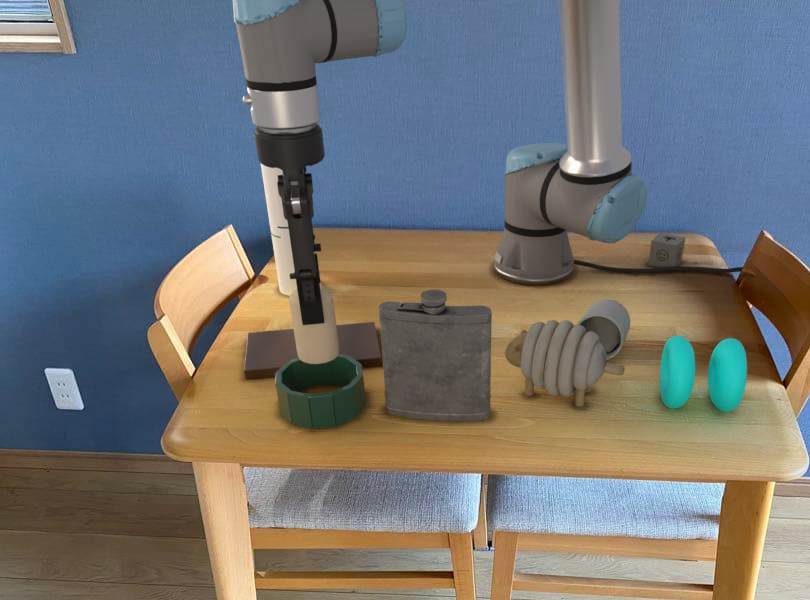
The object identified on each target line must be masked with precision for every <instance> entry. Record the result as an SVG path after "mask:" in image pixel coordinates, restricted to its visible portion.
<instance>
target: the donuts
mask: <svg viewBox="0 0 810 600" xmlns="http://www.w3.org/2000/svg"><path fill="white" fill-rule="evenodd" d="M746 353H747V352H746V349H745V347H744V345H743V344H742V342H741V341H740V340H739V339H737V338H733V337H728V338H724V339H722V340H721V341H720V342H719V343H718V344H717V345H715V347H714V349H713V351H712V354H711V356H710V360H709V364H708V372H707V387H708V388H707V389H708V394H709V398H710V400H711V403H712V404H713V406H714V407H715V408H716V409H718V410H719V411H721V412H724V413H729V412H732V411H734V410H736V409H737V408H738V407H739V406H740V404H741V403H742V400H743V397H744V394H745V391H746V390H745V389H746V385H747V378H748V377H747V376H748V359H747V354H746ZM659 370H660V371H659V392H660V398H661V401H662V403H663V404H664V405H665V406H666V407H667V408H669V409H672V410H673V409H674V410H675V409H679V408H681V407H683V406H684V405H685V404H686V403H687V402H688V401H689V399H690V397H691V395H692V392H693V389H694V385H695V384H694V383H695V376H696V356H695V352H694V348H693V346H692V344H691V342H690V341H689V340H688V339H687V337H685V336H682V335H672V336H671V337H669V338H668V339H667V340H666V342H665V344H664V347H663V350H662V354H661V361H660V369H659Z"/></svg>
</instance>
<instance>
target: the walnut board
mask: <svg viewBox="0 0 810 600" xmlns="http://www.w3.org/2000/svg"><path fill="white" fill-rule="evenodd" d="M336 326H337V335H338V343H339V354H343V355H348V356H350V357H352V358H353V359H355V360H356V361H358V362H359V363H361V364H362V369H363V368H374V367H382V366H383V361H382V353H381V350H380V349H381V348H380V344H379V340H378V333H377V329H376V323H375V321H367V322H366V321H365V322H356V323H355V322H354V323H345V324H336ZM244 355H245V356H244V366H243V373H244V379H245V380H250V379H260V378H261V379H262V378H271V377H276V372H277V371H278V370H279V369H280V368H281V367H282V366H283V365H284V364H286V363H287V362H288V361H290V360H293V359H296V358H298V354H297V348H296V341H295V335H294V329H293V328H288V329H277V330H265V331H264V330H263V331H254V332H252V331H251V332H247V339H246V348H245V354H244Z"/></svg>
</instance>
